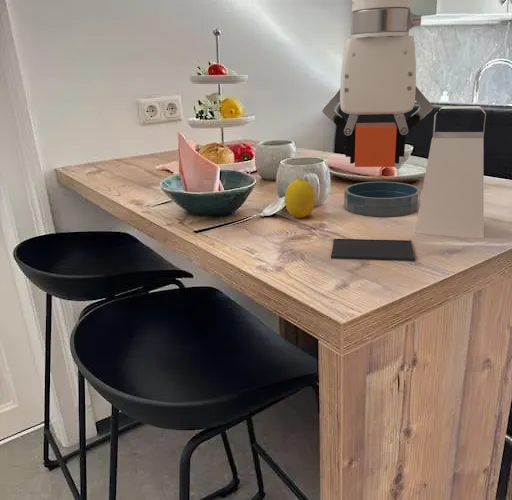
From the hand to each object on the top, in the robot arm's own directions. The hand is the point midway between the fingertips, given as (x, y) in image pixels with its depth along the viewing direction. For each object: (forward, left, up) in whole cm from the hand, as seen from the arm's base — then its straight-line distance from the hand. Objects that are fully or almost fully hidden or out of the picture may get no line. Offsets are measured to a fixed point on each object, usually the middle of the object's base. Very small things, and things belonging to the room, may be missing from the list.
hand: (374, 160), depth 73 cm
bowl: (-2, -23, -14) cm, 27 cm away
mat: (0, 0, -14) cm, 14 cm away
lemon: (+13, -15, -14) cm, 24 cm away
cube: (0, 0, 0) cm, 0 cm away
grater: (-13, -11, -14) cm, 22 cm away
